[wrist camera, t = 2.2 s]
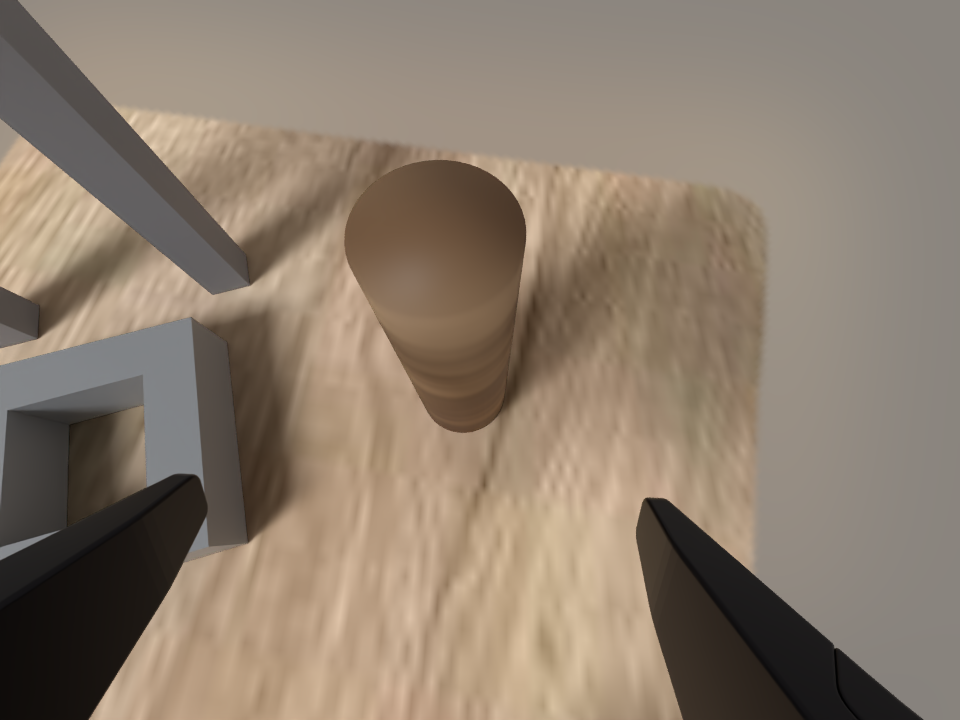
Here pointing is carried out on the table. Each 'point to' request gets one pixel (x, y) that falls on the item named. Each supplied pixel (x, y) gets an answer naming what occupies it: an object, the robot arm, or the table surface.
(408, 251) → the peg
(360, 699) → the table surface
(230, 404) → the socket
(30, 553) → the robot arm
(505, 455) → the table surface
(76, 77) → the teal topped stool
